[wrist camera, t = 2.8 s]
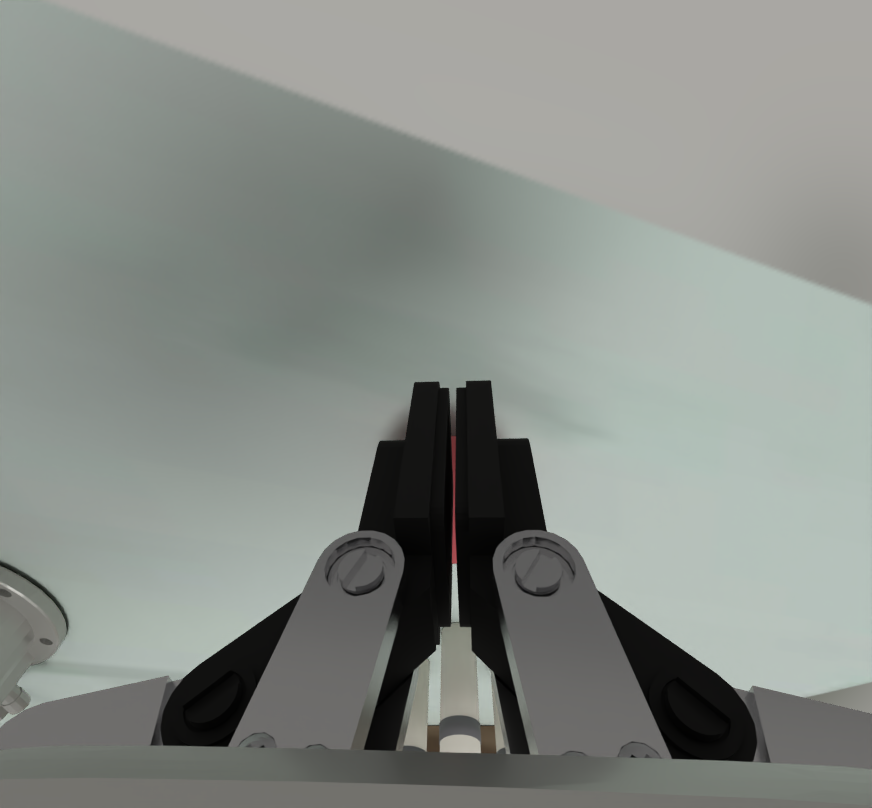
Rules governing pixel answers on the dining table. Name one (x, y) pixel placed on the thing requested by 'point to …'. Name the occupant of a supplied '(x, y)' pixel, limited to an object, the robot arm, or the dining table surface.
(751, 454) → the dining table surface
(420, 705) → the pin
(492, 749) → the back wall
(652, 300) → the dining table surface
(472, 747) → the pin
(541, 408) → the dining table surface
